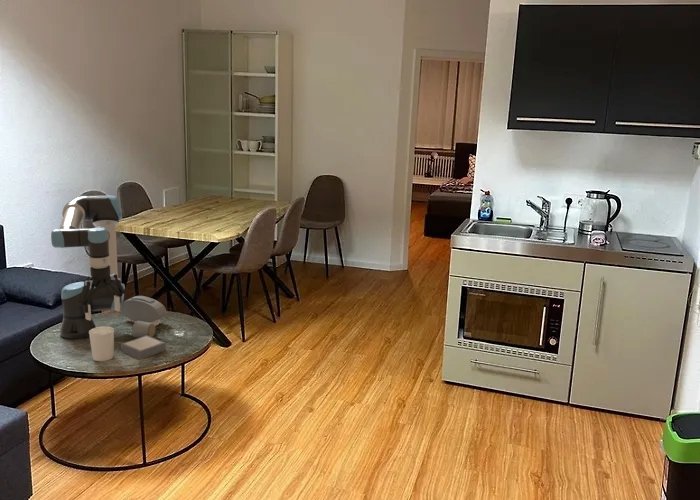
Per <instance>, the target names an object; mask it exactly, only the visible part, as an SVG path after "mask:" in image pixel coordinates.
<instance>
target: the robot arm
mask: <svg viewBox="0 0 700 500" xmlns="http://www.w3.org/2000/svg"><path fill="white" fill-rule="evenodd" d="M61 213H62V221H61V224H60V226H59V228H57V229H52V230H51V232H50V235H51V237H50V240H51V245H52V247H53V248H57V249H58V248H61V249H63V248H66V249H67V248H86V247H87V248H88V252H89V266H90V268H89V269H90V276H91V278H90V279H91V280H86V279H85V280H84V281H78V282H73V283H69V284H67V285H65V286H63V287H62V289H61V297H60V298H61V305H62V307H61V308H62V317H63V318H62V323H61V326H60V328H59V333H60V337H62V338H64V339H68V340H69V339H71V340H73V339H74V340H77V339H85V338H87V337H90V336H89V331H90V330H91V329H93V328H96V327H97V326H96V324H95V321H94V319H93V317H92V312H96V311H108V310H109V311H110V310H111V311H113V310H114V311H116V312H121V311H120V308H121V307H122V305H123V302H124V301H125V300H124V298H125V293H126V291H125V284H124V283H122V280H121V278H119V275H118V258H117V257H118V253H117V252H118V251H117V226H119V224H120V221H122V220H123V217H122V211H121V205H120V200H119V197H118V196H116V195H109V194H108V195H81V196H78V197H76V198H73V199H72V200H70V201H68V202H67V203H66V204H65V205H64V207H63V209H62V212H61ZM83 221H84V222H85V221H89V222H90V221H91V222H92V225H93V227H92V228H81V224H82V222H83ZM91 311H92V312H91Z"/></svg>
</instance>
